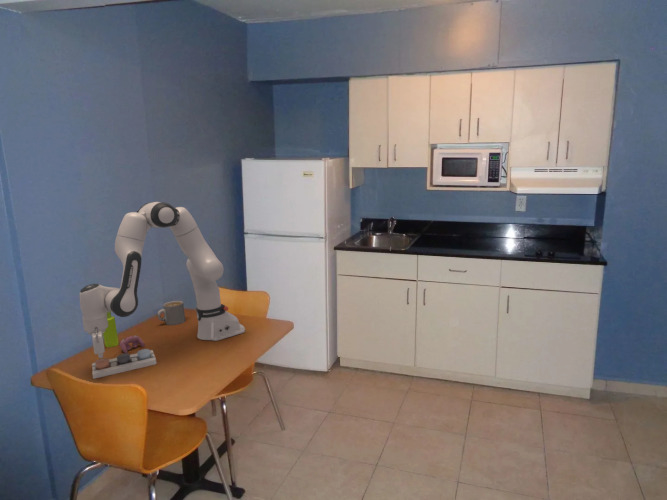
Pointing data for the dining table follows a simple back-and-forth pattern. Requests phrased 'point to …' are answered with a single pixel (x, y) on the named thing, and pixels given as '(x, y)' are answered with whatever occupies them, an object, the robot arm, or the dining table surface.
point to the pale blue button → (144, 354)
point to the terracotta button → (102, 363)
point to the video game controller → (132, 339)
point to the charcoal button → (123, 359)
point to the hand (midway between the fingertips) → (101, 356)
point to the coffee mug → (172, 313)
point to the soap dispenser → (110, 332)
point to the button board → (124, 367)
